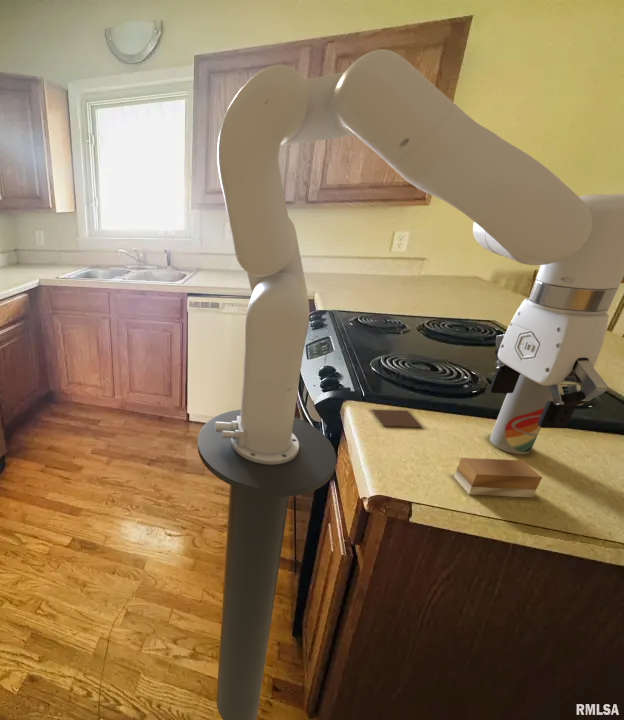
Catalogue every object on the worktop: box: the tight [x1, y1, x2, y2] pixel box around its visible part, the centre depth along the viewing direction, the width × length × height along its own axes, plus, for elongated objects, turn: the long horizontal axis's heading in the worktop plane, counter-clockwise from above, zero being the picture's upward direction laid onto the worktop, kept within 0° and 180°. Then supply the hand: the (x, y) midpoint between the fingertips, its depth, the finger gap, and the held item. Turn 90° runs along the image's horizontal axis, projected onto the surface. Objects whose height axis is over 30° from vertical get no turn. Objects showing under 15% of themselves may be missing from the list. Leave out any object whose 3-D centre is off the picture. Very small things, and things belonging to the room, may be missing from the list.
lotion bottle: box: [489, 373, 553, 455], centre depth 68 cm, size 6×6×20 cm
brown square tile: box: [371, 409, 422, 428], centre depth 81 cm, size 7×6×1 cm
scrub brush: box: [453, 457, 543, 498], centre depth 62 cm, size 9×4×4 cm, turn 83°
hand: (523, 408), depth 59 cm, fingers open, 9 cm apart
